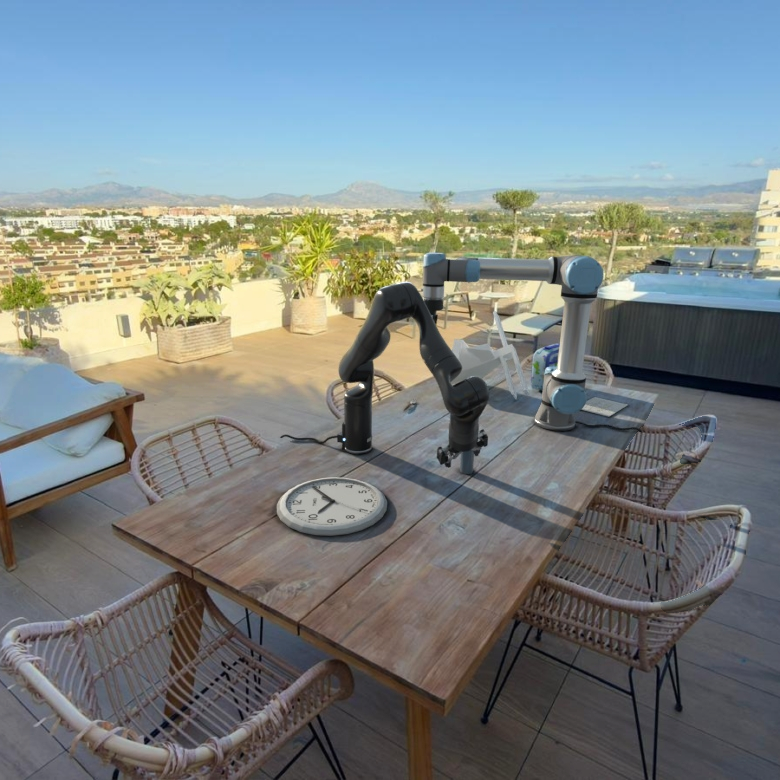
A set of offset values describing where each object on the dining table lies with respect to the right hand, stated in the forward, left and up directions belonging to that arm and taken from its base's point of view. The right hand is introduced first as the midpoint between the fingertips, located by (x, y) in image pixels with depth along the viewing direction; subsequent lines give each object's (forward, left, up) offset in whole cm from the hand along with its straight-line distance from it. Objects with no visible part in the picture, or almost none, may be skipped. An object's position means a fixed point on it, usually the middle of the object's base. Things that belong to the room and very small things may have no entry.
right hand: (430, 357), depth 190 cm
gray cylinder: (-14, +34, -28) cm, 46 cm away
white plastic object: (-22, -50, -28) cm, 61 cm away
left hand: (-12, +49, -17) cm, 53 cm away
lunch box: (-56, -63, -28) cm, 89 cm away
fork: (+9, -25, -28) cm, 39 cm away
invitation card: (-73, -38, -28) cm, 87 cm away
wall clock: (+23, +61, -28) cm, 71 cm away
